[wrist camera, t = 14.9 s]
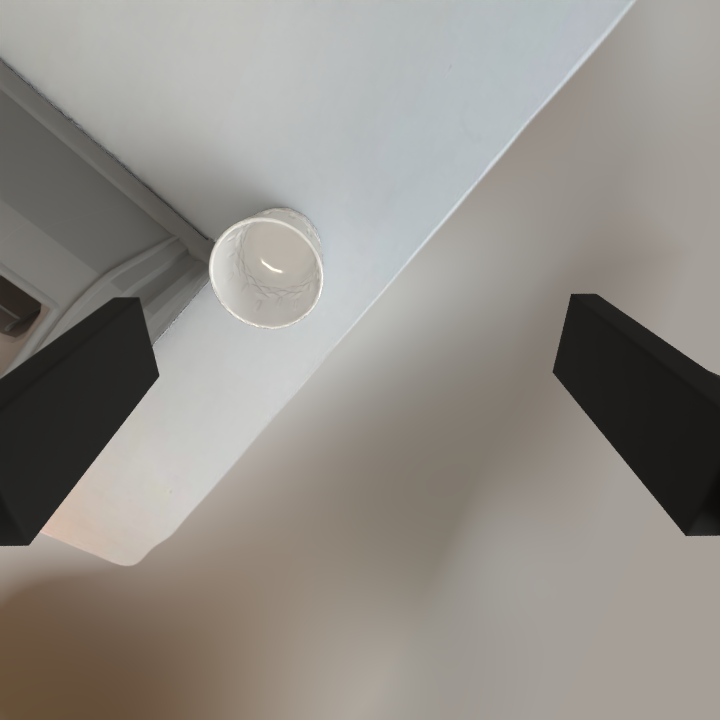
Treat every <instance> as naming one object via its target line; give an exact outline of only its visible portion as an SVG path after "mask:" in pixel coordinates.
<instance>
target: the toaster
mask: <svg viewBox="0 0 720 720" xmlns="http://www.w3.org/2000/svg"><path fill="white" fill-rule="evenodd" d="M214 245H215V242H214V241H213V240H212V239H211V238H210V239H208V240H206V239H205V238H204V237H203V236H201V235H200V234H199V233H198V232H197V231H196V230H195V229H193V228H192V227H191V226H190V225H189V224H188V223H187V222H185V221H184V220H183V219H182V218H181V217H180V216H178V215H177V214H176V213H175V212H174V211H173V210H172V209H170V208H169V207H168V206H167V205H166V204H165V203H164V202H162V201H161V200H160V199H159V198H158V197H157V196H156V195H154V194H153V193H152V192H151V191H150V190H149V189H147V188H146V187H145V186H144V185H143V184H142V183H141V182H139V181H138V180H137V179H136V178H135V177H134V176H133V175H131V174H130V173H129V172H128V171H127V170H126V169H125V168H123V167H122V166H121V165H120V164H119V163H118V162H116V161H115V160H114V159H113V158H112V157H111V156H110V155H108V154H107V153H106V152H105V151H104V150H103V149H102V148H100V147H99V146H98V145H97V144H96V143H95V142H93V141H92V140H91V139H90V138H89V137H88V136H87V135H85V134H84V133H83V132H82V131H81V130H80V129H79V128H77V127H76V126H75V125H74V124H73V123H72V122H71V121H69V120H68V119H67V118H66V117H65V116H64V115H62V114H61V113H60V112H59V111H58V110H57V109H56V108H54V107H53V106H52V105H51V104H50V103H49V102H48V101H46V100H45V99H44V98H43V97H42V96H41V95H40V94H38V93H37V92H36V91H35V90H34V89H33V88H31V87H30V86H29V85H28V84H27V83H26V82H25V81H23V80H22V79H21V78H20V77H19V76H18V75H17V74H15V73H14V72H13V71H12V70H11V69H10V68H8V67H7V66H6V65H5V64H4V63H3V62H2V61H0V379H1V378H2V377H4V376H5V375H6V374H8V373H9V372H11V371H12V370H13V369H15V368H16V367H18V366H19V365H20V364H22V363H23V362H25V361H26V360H27V359H29V358H30V357H31V356H33V355H34V354H36V353H37V352H38V351H40V350H41V349H43V348H44V347H45V346H47V345H48V344H50V343H51V342H52V341H54V340H55V339H57V338H58V337H59V336H61V335H62V334H63V333H65V332H66V331H68V330H69V329H70V328H72V327H73V326H75V325H76V324H77V323H79V322H80V321H82V320H83V319H84V318H86V317H87V316H88V315H90V314H91V313H93V312H94V311H95V310H97V309H98V308H100V307H101V306H102V305H104V304H105V303H107V302H108V301H109V300H111V299H112V298H113V297H140V301H141V305H142V309H143V313H144V317H145V321H146V325H147V329H148V333H149V337H150V341H151V345H153V344H154V342H155V341H156V340H157V339H158V338H159V337H160V336H161V334H162V333H163V332H164V331H165V330H166V329H167V328H168V326H169V325H170V324H171V323H172V322H173V321H174V320H175V318H176V317H177V316H178V315H179V314H180V313H181V312H182V310H183V309H184V308H185V307H186V306H187V305H188V304H189V302H190V301H191V300H192V299H193V298H194V297H195V295H196V294H197V293H198V292H199V291H200V290H201V289H202V287H203V286H204V285H205V284H206V283H207V282H208V281H209V279H210V276H209V261H210V256H211V252H212V249H213V247H214Z"/></svg>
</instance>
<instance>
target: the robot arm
mask: <svg viewBox="0 0 720 720" xmlns="http://www.w3.org/2000/svg"><path fill="white" fill-rule="evenodd" d="M553 373H554V374H555V376H556V377H557V378H558V379H559V381H560V382H561V383H562V384H563V385H564V387H565V388H566V389H567V390H568V392H569V393H570V394H571V395H572V396H573V398H574V399H575V400H576V402H577V403H578V404H579V405H580V406H581V408H582V409H583V410H584V411H585V413H586V414H587V415H588V416H589V418H590V419H591V420H592V421H593V422H594V424H595V425H596V426H597V427H598V429H599V430H600V431H601V432H602V433H603V434H604V436H605V437H606V438H607V440H608V441H609V442H610V443H611V445H612V446H613V447H614V448H615V449H616V451H617V452H618V453H619V454H620V455H621V457H622V458H623V459H624V461H625V462H626V463H627V464H628V465H629V467H630V468H631V469H632V470H633V472H634V473H635V474H636V475H637V476H638V478H639V479H640V480H641V481H642V483H643V484H644V485H645V486H646V488H647V489H648V490H649V491H650V493H651V494H652V495H653V496H654V497H655V499H656V500H657V501H658V502H659V504H660V505H661V506H662V507H663V508H664V510H665V511H666V512H667V513H668V515H669V516H670V517H671V518H672V520H673V521H674V522H675V523H676V524H677V526H678V527H679V528H680V529H681V531H682V532H683V533H684V534H685V535H686V536H711V535H712V536H717V535H720V376H719V375H717V374H715V373H712V372H710V371H708V370H706V369H705V368H703V367H702V366H700V365H699V364H697V363H696V362H694V361H693V360H692V359H690V358H689V357H687V356H686V355H684V354H683V353H681V352H680V351H679V350H677V349H676V348H674V347H673V346H671V345H670V344H668V343H667V342H665V341H664V340H663V339H661V338H660V337H658V336H657V335H655V334H654V333H652V332H651V331H649V330H648V329H647V328H645V327H643V326H642V325H641V324H639V323H638V322H636V321H635V320H634V319H632V318H631V317H629V316H628V315H626V314H625V313H623V312H622V311H620V310H619V309H618V308H616V307H615V306H613V305H612V304H610V303H609V302H607V301H606V300H604V299H603V298H602V297H600V296H599V295H597V294H571V297H570V302H569V306H568V310H567V314H566V318H565V323H564V327H563V331H562V335H561V339H560V343H559V347H558V352H557V356H556V360H555V364H554V369H553ZM158 377H159V372H158V368H157V364H156V360H155V356H154V352H153V348H152V345H151V341H150V337H149V333H148V329H147V325H146V321H145V317H144V313H143V309H142V305H141V301H140V297H113V298H112V299H111V300H109V301H108V302H107V303H105V304H104V305H102V306H101V307H100V308H98V309H97V310H95V311H94V312H93V313H91V314H90V315H88V316H87V317H86V318H84V319H83V320H82V321H80V322H79V323H77V324H76V325H75V326H73V327H72V328H70V329H69V330H68V331H66V332H65V333H63V334H62V335H61V336H59V337H58V338H57V339H55V340H54V341H52V342H51V343H50V344H48V345H47V346H45V347H44V348H43V349H41V350H40V351H38V352H37V353H36V354H34V355H33V356H31V357H30V358H29V359H27V360H26V361H25V362H23V363H22V364H20V365H19V366H18V367H16V368H15V369H13V370H12V371H11V372H9V373H8V374H6V375H5V376H4V377H2V378H1V379H0V546H23V545H24V546H27V545H29V544H30V543H31V542H32V541H33V539H34V538H35V537H36V536H37V534H38V533H39V532H40V530H41V529H42V528H43V526H44V525H45V524H46V523H47V521H48V520H49V519H50V517H51V516H52V515H53V513H54V512H55V511H56V510H57V508H58V507H59V506H60V504H61V503H62V502H63V500H64V499H65V498H66V497H67V495H68V494H69V493H70V491H71V490H72V489H73V487H74V486H75V485H76V484H77V482H78V481H79V480H80V478H81V477H82V476H83V475H84V473H85V472H86V471H87V469H88V468H89V467H90V465H91V464H92V463H93V462H94V460H95V459H96V458H97V456H98V455H99V454H100V452H101V451H102V450H103V449H104V447H105V446H106V445H107V443H108V442H109V441H110V439H111V438H112V437H113V436H114V434H115V433H116V432H117V430H118V429H119V428H120V426H121V425H122V424H123V423H124V421H125V420H126V419H127V417H128V416H129V415H130V413H131V412H132V411H133V410H134V408H135V407H136V406H137V404H138V403H139V402H140V401H141V399H142V398H143V397H144V395H145V394H146V393H147V391H148V390H149V389H150V388H151V386H152V385H153V384H154V382H155V381H156V380H157V378H158Z"/></svg>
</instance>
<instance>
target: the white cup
mask: <svg viewBox="0 0 720 720" xmlns="http://www.w3.org/2000/svg"><path fill="white" fill-rule="evenodd" d="M209 276H210V281H211V285H212V288H213V290H214V293H215V295H216V297H217V298H218V300H219V301H220V303H221V304H222V305H223V307H224V308H225V309H226V310H227V311H228V312H229V313H230V314H232V315H233V316H234V317H236V318H237V319H239V320H240V321H242V322H244V323H247V324H249V325H252V326H255V327H259V328H267V329H275V328H282V327H286V326H289V325H292V324H294V323H296V322H298V321H300V320H301V319H303V318H304V317H305V316H306V315H308V314H309V313H310V311H311V310H312V309H313V308H314V306H315V305H316V303H317V301H318V299H319V297H320V294H321V291H322V286H323V255H322V248H321V243H320V240H319V236H318V233H317V229H316V228H315V227H314V226H313V225H312V223H311V222H310V221H309V220H308V219H307V218H306V216H305V215H303V214H300V213H298V212H296V211H294V210H292V209H290V208H271V209H269V210H265V211H262V212H259V213H256V214H254V215H252V216H250V217H248V218H246V219H244V220H242V221H240V222H238V223H236V224H234V225H233V226H231V227H230V228H228V229H227V230H226V231H225V232H224V233H223V234H222V235H221V236H220V237H219V239H218V240H217V242H216V243H215V245H214V247H213V249H212V252H211V256H210V261H209Z"/></svg>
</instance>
